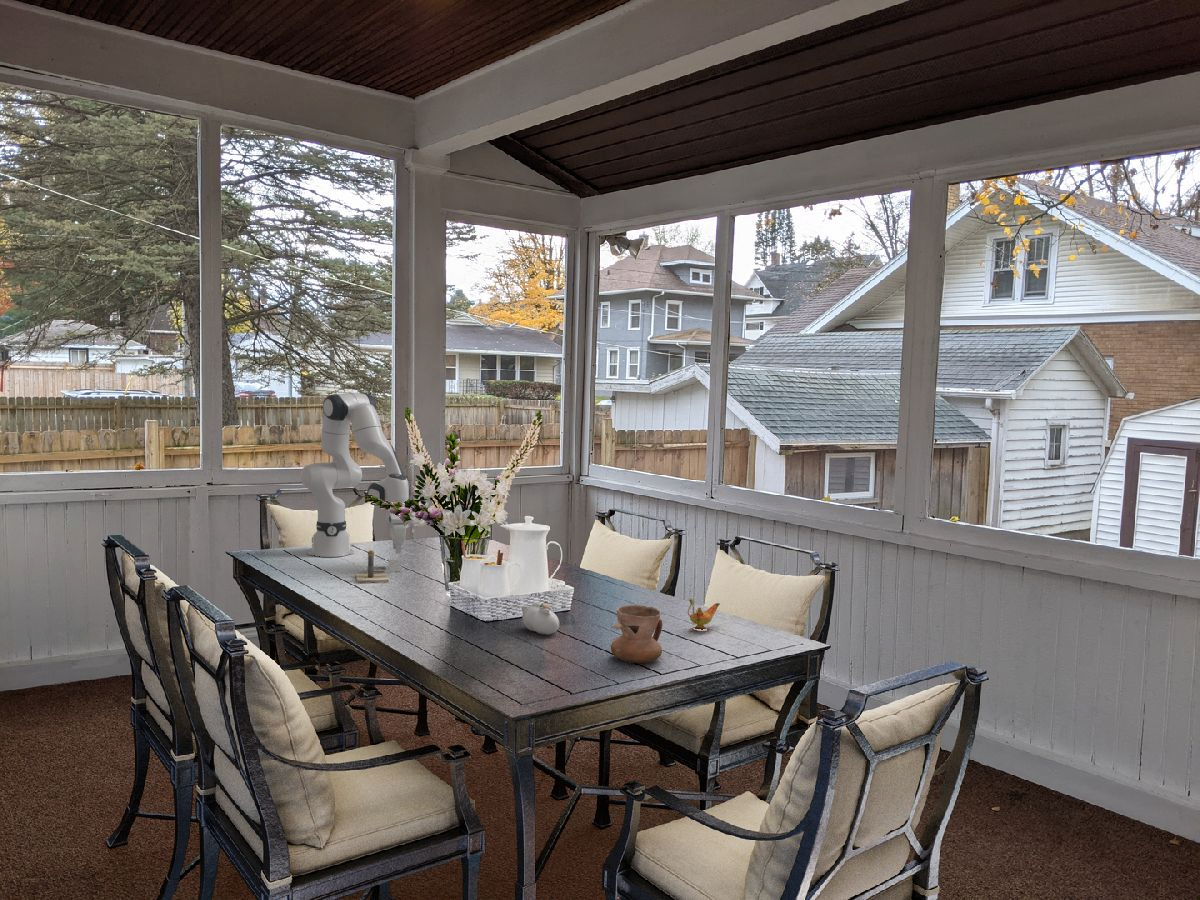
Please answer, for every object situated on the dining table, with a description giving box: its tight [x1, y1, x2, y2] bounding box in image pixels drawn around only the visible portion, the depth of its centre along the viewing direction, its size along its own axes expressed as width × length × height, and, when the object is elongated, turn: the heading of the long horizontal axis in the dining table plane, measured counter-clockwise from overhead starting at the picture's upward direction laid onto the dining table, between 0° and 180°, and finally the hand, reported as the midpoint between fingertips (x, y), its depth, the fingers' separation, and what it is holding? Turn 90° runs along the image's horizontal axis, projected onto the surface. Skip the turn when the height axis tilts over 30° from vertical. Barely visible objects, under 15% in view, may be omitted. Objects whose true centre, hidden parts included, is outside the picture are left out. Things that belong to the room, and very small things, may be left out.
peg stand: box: [354, 550, 389, 584], centre depth 336 cm, size 13×11×11 cm
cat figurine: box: [520, 601, 560, 636], centre depth 275 cm, size 10×8×15 cm
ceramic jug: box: [610, 604, 663, 664], centre depth 252 cm, size 18×14×14 cm
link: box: [366, 558, 403, 574], centre depth 349 cm, size 8×13×4 cm, turn 109°
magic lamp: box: [687, 598, 721, 630], centre depth 285 cm, size 7×18×11 cm, turn 139°
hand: (396, 551), depth 349 cm, fingers open, 8 cm apart
